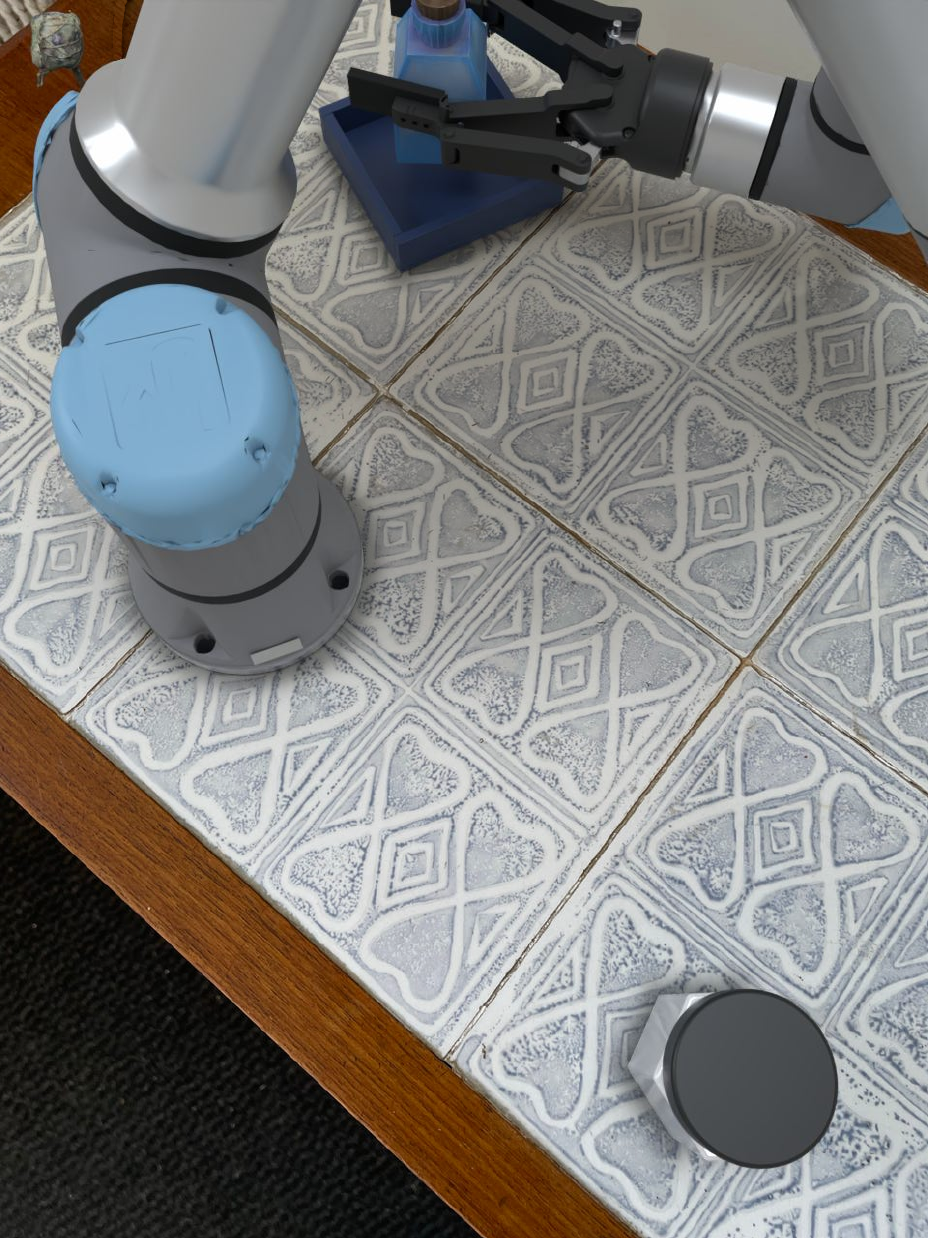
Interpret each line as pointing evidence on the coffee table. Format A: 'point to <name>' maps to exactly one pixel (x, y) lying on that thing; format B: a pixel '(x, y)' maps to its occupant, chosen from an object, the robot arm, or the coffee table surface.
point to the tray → (426, 186)
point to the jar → (737, 1075)
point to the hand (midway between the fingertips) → (371, 40)
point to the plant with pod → (56, 44)
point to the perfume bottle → (439, 64)
